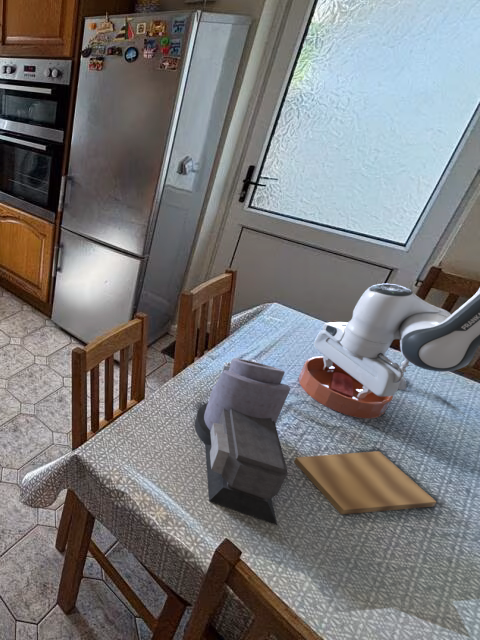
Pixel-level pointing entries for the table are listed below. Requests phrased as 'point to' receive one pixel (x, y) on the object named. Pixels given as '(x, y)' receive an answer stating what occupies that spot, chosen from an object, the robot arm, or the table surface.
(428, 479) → the table surface
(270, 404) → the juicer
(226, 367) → the lighter
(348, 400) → the terracotta plant saucer
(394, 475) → the board
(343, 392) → the popsicle
